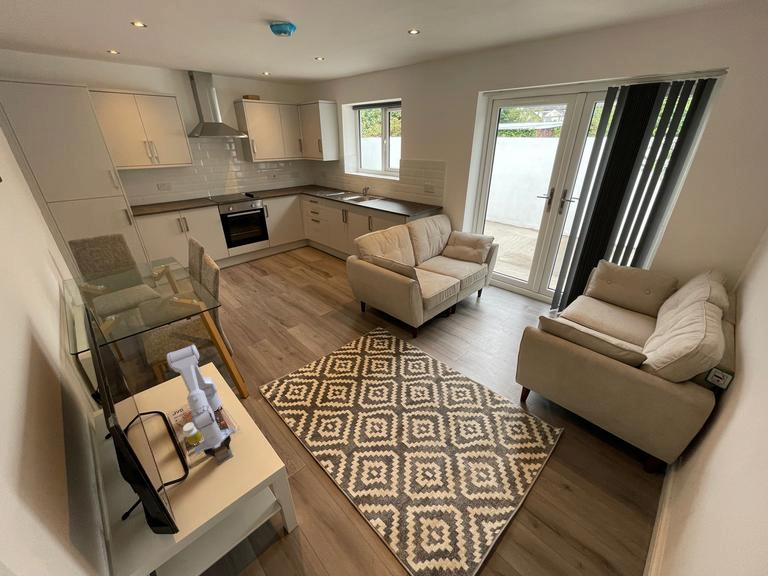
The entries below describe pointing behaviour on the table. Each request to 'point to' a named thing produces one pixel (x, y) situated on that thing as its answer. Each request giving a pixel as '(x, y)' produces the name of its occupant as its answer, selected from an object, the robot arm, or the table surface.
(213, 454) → the robot arm
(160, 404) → the table surface
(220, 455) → the walnut block
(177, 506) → the table surface
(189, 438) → the supplement bottle
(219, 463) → the slate coaster
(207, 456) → the beech tray
